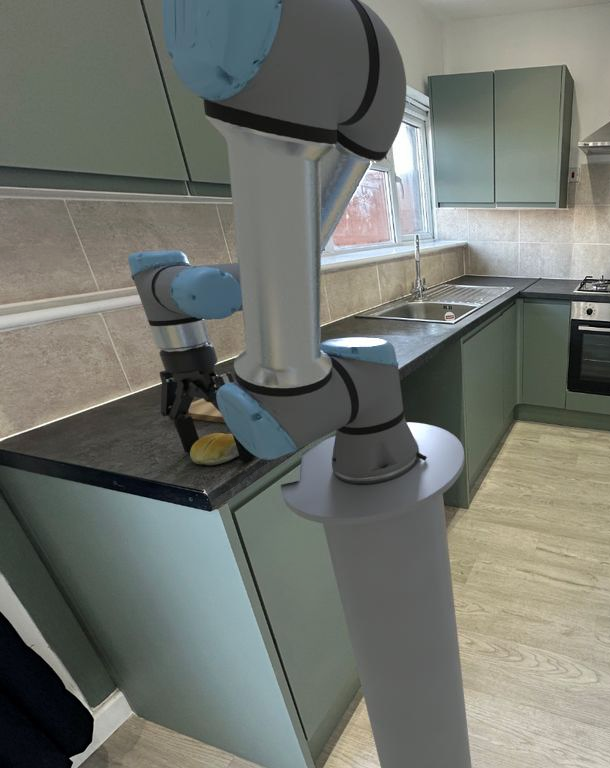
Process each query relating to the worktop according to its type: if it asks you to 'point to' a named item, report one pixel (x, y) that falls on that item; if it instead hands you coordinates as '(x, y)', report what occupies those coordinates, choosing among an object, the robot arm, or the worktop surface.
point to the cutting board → (204, 411)
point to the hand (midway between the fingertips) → (220, 453)
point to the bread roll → (214, 449)
